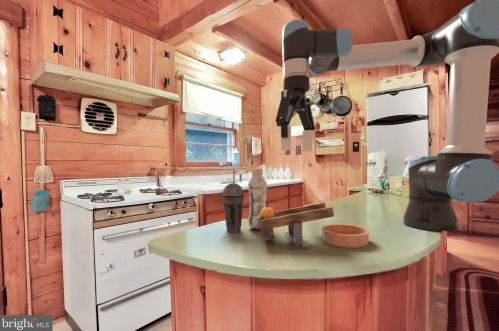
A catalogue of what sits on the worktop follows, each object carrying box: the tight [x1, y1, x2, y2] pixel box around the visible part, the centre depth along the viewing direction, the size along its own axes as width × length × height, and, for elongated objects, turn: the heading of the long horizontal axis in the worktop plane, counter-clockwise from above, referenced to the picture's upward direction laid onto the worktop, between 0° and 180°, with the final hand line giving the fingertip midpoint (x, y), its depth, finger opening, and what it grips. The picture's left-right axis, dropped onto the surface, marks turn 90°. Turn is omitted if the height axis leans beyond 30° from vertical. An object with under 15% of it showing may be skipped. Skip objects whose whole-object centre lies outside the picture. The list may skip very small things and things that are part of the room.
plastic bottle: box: [247, 168, 268, 230], centre depth 85 cm, size 6×7×20 cm
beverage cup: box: [221, 169, 245, 233], centre depth 83 cm, size 7×7×20 cm
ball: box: [260, 206, 275, 220], centre depth 71 cm, size 4×4×4 cm
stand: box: [284, 222, 308, 250], centre depth 71 cm, size 4×13×6 cm, turn 179°
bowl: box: [321, 223, 370, 249], centre depth 71 cm, size 12×12×3 cm
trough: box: [257, 201, 335, 242], centre depth 74 cm, size 20×15×6 cm
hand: (297, 151), depth 74 cm, fingers open, 13 cm apart
